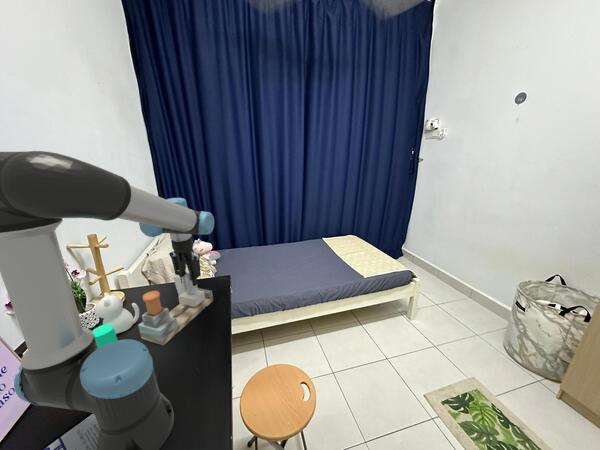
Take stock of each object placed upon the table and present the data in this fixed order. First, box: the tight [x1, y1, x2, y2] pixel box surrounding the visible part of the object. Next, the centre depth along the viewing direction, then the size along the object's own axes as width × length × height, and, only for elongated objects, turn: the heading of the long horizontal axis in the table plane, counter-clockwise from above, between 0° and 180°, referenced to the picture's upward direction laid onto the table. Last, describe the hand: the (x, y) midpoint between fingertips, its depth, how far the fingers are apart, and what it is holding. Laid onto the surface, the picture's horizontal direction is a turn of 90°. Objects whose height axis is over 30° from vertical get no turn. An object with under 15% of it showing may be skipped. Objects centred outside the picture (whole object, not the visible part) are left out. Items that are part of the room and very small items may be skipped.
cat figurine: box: [94, 292, 140, 335], centre depth 91 cm, size 9×12×15 cm
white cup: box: [172, 268, 189, 296], centre depth 115 cm, size 8×8×10 cm
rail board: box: [137, 287, 214, 346], centre depth 97 cm, size 27×10×10 cm, turn 161°
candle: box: [91, 324, 119, 348], centre depth 79 cm, size 6×6×12 cm
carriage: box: [178, 273, 205, 307], centre depth 102 cm, size 6×8×13 cm
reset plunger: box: [142, 290, 162, 316], centre depth 85 cm, size 5×5×7 cm
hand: (190, 290), depth 102 cm, fingers open, 3 cm apart
